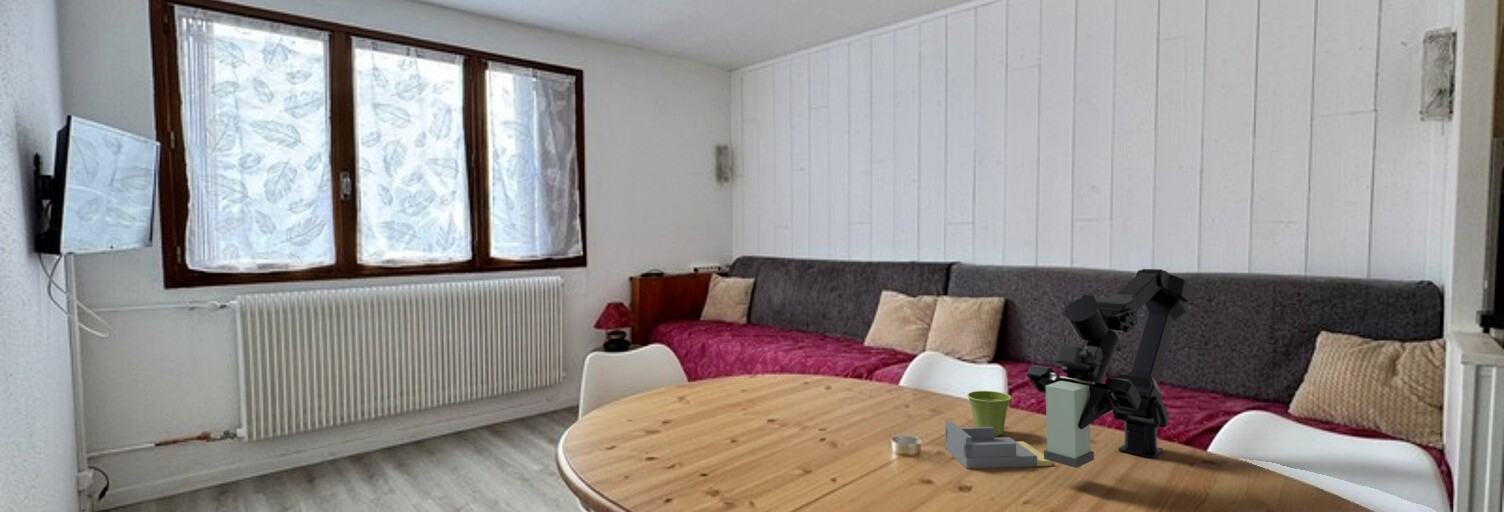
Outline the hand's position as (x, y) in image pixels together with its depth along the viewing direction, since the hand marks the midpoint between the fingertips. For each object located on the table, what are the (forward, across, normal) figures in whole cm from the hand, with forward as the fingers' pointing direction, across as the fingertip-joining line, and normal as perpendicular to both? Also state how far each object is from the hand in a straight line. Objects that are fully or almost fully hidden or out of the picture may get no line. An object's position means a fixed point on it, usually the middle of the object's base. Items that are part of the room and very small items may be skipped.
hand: (1064, 424), depth 115 cm
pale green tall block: (+4, 0, +6) cm, 7 cm away
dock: (+5, -16, +11) cm, 20 cm away
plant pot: (-4, -27, +20) cm, 34 cm away
